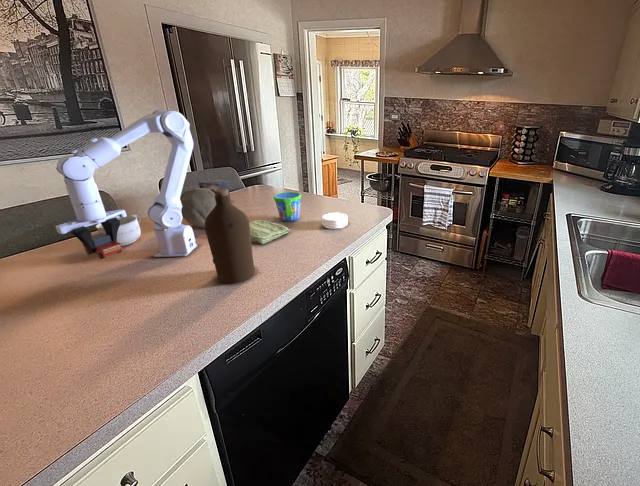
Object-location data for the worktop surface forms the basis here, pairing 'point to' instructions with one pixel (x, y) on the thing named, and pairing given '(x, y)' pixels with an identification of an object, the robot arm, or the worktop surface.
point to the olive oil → (229, 240)
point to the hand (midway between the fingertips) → (103, 248)
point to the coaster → (334, 220)
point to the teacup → (125, 229)
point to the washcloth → (266, 231)
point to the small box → (214, 185)
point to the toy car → (104, 245)
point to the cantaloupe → (197, 205)
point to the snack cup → (288, 205)
